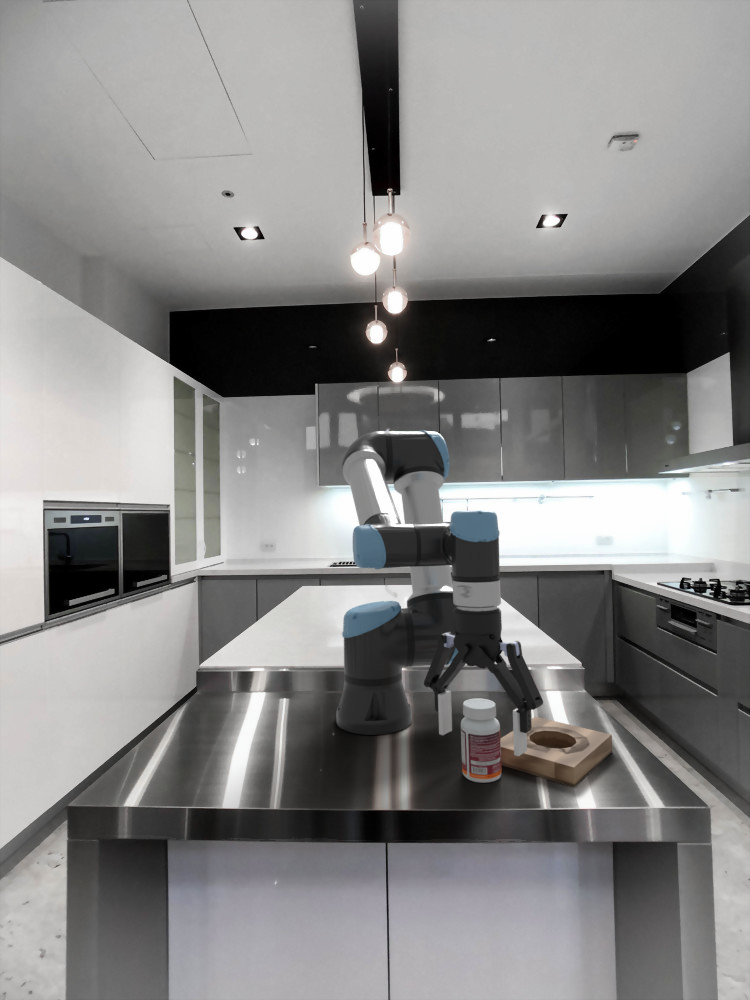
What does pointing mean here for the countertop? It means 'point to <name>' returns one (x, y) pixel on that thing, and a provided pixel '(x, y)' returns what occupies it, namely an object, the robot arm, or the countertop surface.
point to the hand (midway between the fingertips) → (481, 742)
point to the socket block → (557, 751)
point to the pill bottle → (480, 741)
